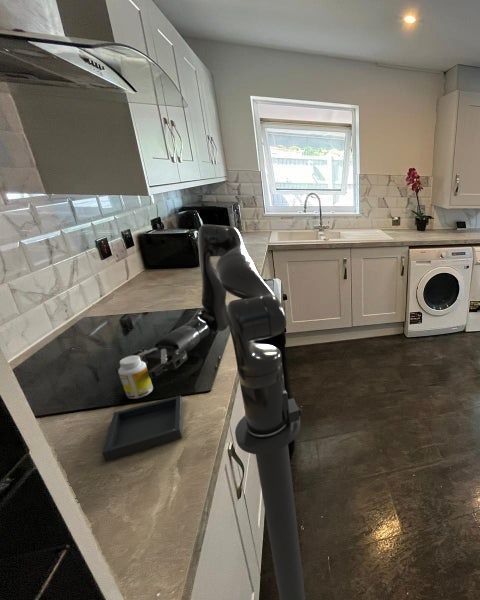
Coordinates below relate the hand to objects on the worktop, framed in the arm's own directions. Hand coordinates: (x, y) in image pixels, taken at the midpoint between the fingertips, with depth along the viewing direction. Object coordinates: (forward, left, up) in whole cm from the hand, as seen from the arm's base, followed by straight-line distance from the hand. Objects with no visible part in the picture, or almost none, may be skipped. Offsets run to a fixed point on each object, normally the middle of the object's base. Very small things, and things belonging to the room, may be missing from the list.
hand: (134, 374), depth 82 cm
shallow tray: (-3, +16, -6) cm, 17 cm away
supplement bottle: (0, 0, -6) cm, 6 cm away
